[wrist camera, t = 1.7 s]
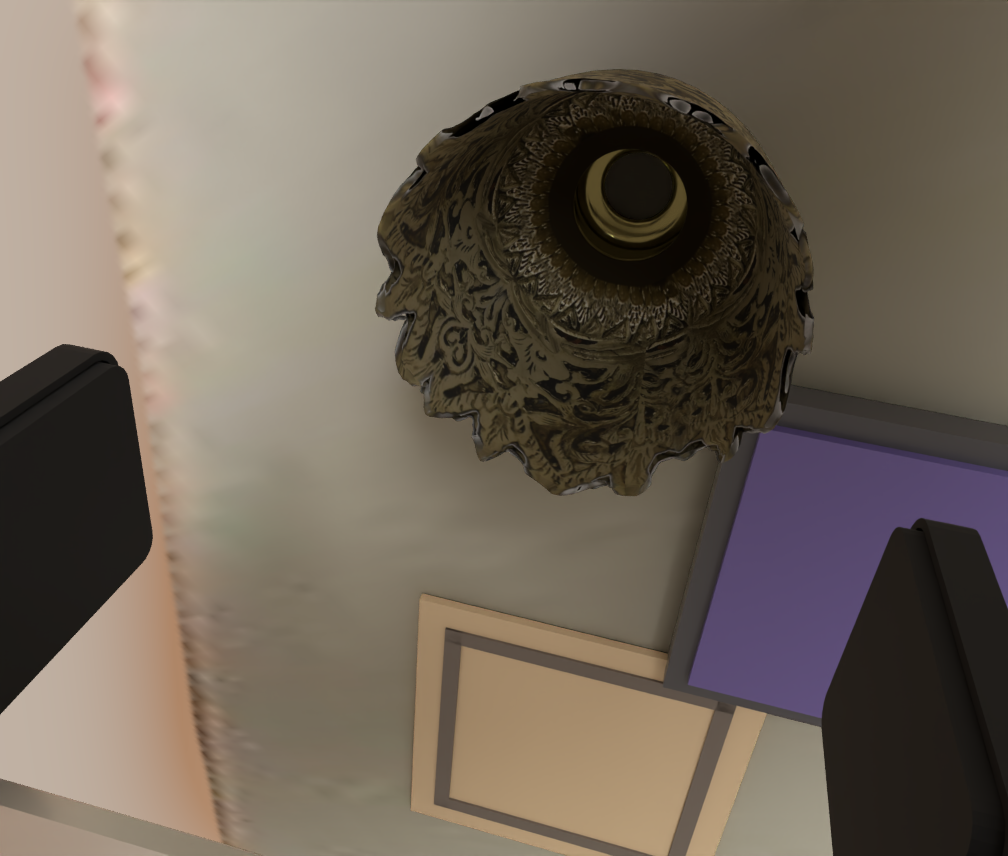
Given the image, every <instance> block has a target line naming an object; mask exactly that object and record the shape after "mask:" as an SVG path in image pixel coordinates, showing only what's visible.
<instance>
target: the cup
mask: <svg viewBox="0 0 1008 856" xmlns="http://www.w3.org/2000/svg"><path fill="white" fill-rule="evenodd" d="M636 152H641V153H647V154H651V155H653V156H655V157H657V158H658V159H660V160H661V161H662V162H663V163H664V164H665V165H666V167H667V168H668V170H669V172H670V175H671V178H672V194H671V197H670V200H669V202H668V204H667V205H666V207H665V208H664V209H663V210H662V211H661V212H660V213H658V214H657V215H655V216H653V217H651V218H648V219H644V220H633V219H628V218H626V217H623V216H622V215H620V214H618V213H617V212H616V211H615V210H614V209H613V208H612V207H611V205H610V204H609V202H608V200H607V197H606V194H605V179H606V175H607V173H608V171H609V169H610V167H611V166H612V165H613V164H614V163H615V162H616V161H617V160H618V159H619V158H621V157H623V156H625V155H627V154H630V153H636ZM416 160H417V164H418V167H417V168H416V169H415V170H414V171H413V173H412V174H411V175H410V176H409V177H408V178H407V179H406V181H405V182H404V183H403V184H402V185H401V186H400V187H399V188H398V190H397V191H396V193H395V194H394V196H393V197H392V199H391V201H390V202H389V204H388V206H387V208H386V210H385V212H384V214H383V216H382V219H381V221H380V224H379V226H378V232H377V238H378V242H379V246H380V248H381V251H382V253H383V255H384V256H385V257H386V259H387V261H388V264H389V268H390V270H391V274H390V276H389V278H388V279H387V281H385V283H383V284H382V286H381V289H380V292H379V293H378V295H377V302H376V307H375V311H376V313H377V315H378V317H384V318H386V319H387V320H394V321H396V320H398V319H401V320H405V319H406V321H405V322H404V324H403V327H402V329H401V331H400V335H399V338H398V342H397V345H396V349H395V358H396V365H397V369H398V372H399V374H400V375H401V377H402V379H403V380H406V381H407V382H408V383H409V384H411V385H412V386H416V385H419V386H421V391H420V392H421V393H423V394H424V410H425V414H426V415H428V416H430V417H437V418H453V419H455V420H456V421H460V420H464V419H467V418H468V417H471V418H472V419H473V424H472V425H473V433H472V438H473V440H474V443H475V447H476V452H477V455H478V457H479V459H480V461H488V460H490V459H493V458H495V457H497V456H499V455H501V454H502V453H504V452H510V453H511V454H512V455H513V456H515V457H516V458H517V459H518V460H520V462H521V463H522V464H523V466H524V471H525V473H526V474H527V475H529V476H530V477H531V478H533V479H534V480H536V481H537V482H538V483H540V484H541V485H542V486H544V487H545V488H546V489H547V490H548V491H549V492H550V493H552V494H555V495H570V494H574V493H578V492H580V491H583V490H586V489H589V488H591V489H596V488H598V487H602V486H606V485H608V486H609V487H610V488H612V490H613V491H614V493H615V494H617V495H622V496H637V495H639V494H641V493H642V492H644V491H645V490H646V489H647V488H648V487H649V486H650V485H651V478H652V475H653V473H654V471H655V470H656V468H657V467H658V465H659V463H661V462H663V461H666V460H670V459H672V458H675V459H679V460H682V461H685V460H688V459H689V458H690V457H692V456H693V455H694V454H695V453H696V452H697V451H699V450H702V449H703V448H704V447H707V448H708V449H709V450H711V451H715V452H716V453H717V454H716V455H717V460H718V461H719V462H720V463H724V462H726V461H728V460H730V459H731V458H732V457H733V456H734V455H735V454H736V452H737V451H738V449H739V447H740V445H741V441H742V438H743V433H747V432H749V433H763V434H766V433H768V432H770V431H771V430H773V429H774V427H775V426H776V424H777V423H778V422H779V420H780V419H781V417H782V415H783V413H784V411H785V408H786V406H787V401H788V397H789V394H790V388H791V380H792V373H793V368H794V364H795V361H796V358H797V355H798V352H799V353H802V354H803V355H806V353H809V354H810V353H811V350H812V342H813V328H814V317H813V315H812V313H811V310H810V306H809V300H808V295H807V291H810V290H813V274H814V269H813V262H812V257H811V253H810V250H809V247H808V241H807V236H806V232H805V231H804V230H803V229H802V227H803V226H804V224H803V221H802V218H801V216H800V214H799V212H798V210H797V208H796V206H795V205H794V203H793V201H792V199H791V198H790V196H789V195H788V193H787V191H786V190H785V188H784V187H783V185H782V183H781V181H780V179H779V177H778V175H777V173H776V172H775V170H774V168H773V166H772V165H771V163H770V161H769V160H768V158H767V157H766V155H765V153H764V152H763V150H762V148H761V147H760V145H759V144H758V142H757V141H756V140H755V139H754V137H753V136H752V135H751V134H750V132H749V131H748V130H747V128H746V127H745V126H744V125H743V124H742V123H741V122H740V121H739V120H738V119H737V118H736V117H735V116H734V115H733V114H732V113H731V112H730V111H729V110H728V109H727V108H725V107H724V106H723V105H721V104H720V103H719V102H718V101H716V100H715V99H714V98H712V97H710V96H709V95H707V94H705V93H704V92H702V91H700V90H699V89H697V88H695V87H693V86H691V85H688V84H686V83H684V82H681V81H679V80H677V79H674V78H670V77H667V76H664V75H660V74H657V73H651V72H645V71H639V70H624V69H613V70H598V71H590V72H585V73H579V74H574V75H569V76H565V77H561V78H557V79H554V80H550V81H544V82H536V83H531V84H526V85H524V86H521V87H520V90H518V91H516V92H514V93H512V94H509V95H507V96H505V97H503V98H500V99H498V100H495V101H493V102H491V103H489V104H487V105H486V106H485V107H484V108H482V109H481V110H480V111H478V112H476V113H475V114H473V115H472V116H471V117H469V118H468V119H467V120H465V121H464V122H462V123H460V124H458V125H456V126H454V127H452V128H446V129H443V130H442V131H441V132H439V133H438V134H437V135H436V136H435V137H434V138H433V139H432V140H431V141H430V142H429V143H428V144H427V145H426V146H425V147H424V148H423V149H422V150H421V152H420V153H419V155H418V156H417V158H416ZM402 314H406V316H400V315H402Z"/></svg>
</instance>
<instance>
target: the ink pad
mask: <svg viewBox="0 0 1008 856" xmlns="http://www.w3.org/2000/svg"><path fill="white" fill-rule="evenodd" d="M920 518H925V519H929V520H934V521H939V522H944V523H949V524H954V525H959V526H964V527H969V528H973V529H975V530H977V531H978V533H979V534H980V536H981V539H982V541H983V544H984V547H985V549H986V552H987V555H988V557H989V560H990V563H991V565H992V568H993V571H994V573H995V576H996V579H997V581H998V584H999V587H1000V589H1001V592H1002V595H1003V597H1004V600H1005V603H1006V605H1007V608H1008V426H1004V425H998V424H993V423H988V422H982V421H977V420H972V419H967V418H961V417H956V416H951V415H946V414H940V413H935V412H930V411H925V410H919V409H914V408H909V407H904V406H898V405H893V404H888V403H883V402H877V401H872V400H867V399H861V398H856V397H851V396H846V395H840V394H835V393H830V392H825V391H819V390H814V389H809V388H804V387H798V386H793V385H791V388H790V394H789V397H788V401H787V406H786V408H785V411H784V413H783V415H782V417H781V419H780V420H779V422H778V423H777V424H776V426H775V427H774V429H773V430H771V431H770V432H768V433H766V434H763V433H749V432H747V433H743V438H742V441H741V445H740V447H739V449H738V451H737V452H736V454H735V455H734V456H733V457H732V458H731V459H730V460H728V461H726V462H724V463H720V462H719V463H718V467H717V471H716V475H715V478H714V482H713V486H712V490H711V494H710V497H709V501H708V505H707V509H706V512H705V516H704V520H703V524H702V528H701V531H700V535H699V539H698V543H697V547H696V550H695V554H694V558H693V562H692V565H691V569H690V573H689V577H688V581H687V584H686V588H685V592H684V596H683V600H682V603H681V607H680V611H679V615H678V618H677V622H676V626H675V630H674V634H673V637H672V641H671V645H670V649H669V653H668V659H667V664H666V667H665V671H664V679H663V687H664V688H668V689H672V690H676V691H680V692H684V693H688V694H692V695H696V696H700V697H704V698H708V699H712V700H716V701H720V702H724V703H728V704H732V705H736V706H740V707H744V708H747V709H751V710H755V711H759V712H763V713H767V714H771V715H775V716H779V717H783V718H787V719H791V720H795V721H799V722H803V723H807V724H811V725H815V726H819V727H822V722H821V721H822V710H823V704H824V700H825V696H826V693H827V691H828V688H829V686H830V683H831V681H832V678H833V676H834V673H835V671H836V668H837V666H838V664H839V661H840V659H841V656H842V654H843V651H844V649H845V646H846V644H847V641H848V639H849V637H850V634H851V632H852V629H853V627H854V624H855V622H856V619H857V617H858V614H859V612H860V609H861V607H862V605H863V602H864V600H865V597H866V595H867V592H868V590H869V587H870V585H871V582H872V580H873V578H874V575H875V573H876V570H877V568H878V565H879V563H880V560H881V558H882V555H883V553H884V551H885V548H886V546H887V543H888V541H889V538H890V536H891V534H892V532H893V531H894V530H895V528H897V527H903V528H908V529H911V527H912V525H913V524H914V523H915V521H916V520H917V519H920Z"/></svg>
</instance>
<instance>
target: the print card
mask: <svg viewBox="0 0 1008 856" xmlns="http://www.w3.org/2000/svg"><path fill="white" fill-rule="evenodd" d="M667 659H668V654H667V653H663V652H659V651H655V650H651V649H646V648H642V647H638V646H634V645H630V644H626V643H622V642H618V641H614V640H610V639H606V638H602V637H598V636H594V635H590V634H585V633H581V632H577V631H573V630H569V629H565V628H561V627H557V626H553V625H549V624H545V623H541V622H537V621H533V620H528V619H524V618H520V617H516V616H512V615H508V614H504V613H500V612H496V611H492V610H488V609H484V608H480V607H476V606H471V605H467V604H463V603H459V602H455V601H451V600H447V599H443V598H439V597H435V596H431V595H427V594H423V593H422V595H421V597H420V600H419V624H418V648H417V672H416V696H415V720H414V744H413V768H412V792H411V811H415V812H418V813H422V814H425V815H429V816H432V817H436V818H439V819H443V820H446V821H449V822H453V823H456V824H460V825H463V826H467V827H470V828H474V829H477V830H480V831H484V832H487V833H491V834H494V835H498V836H501V837H505V838H508V839H512V840H515V841H518V842H522V843H525V844H529V845H532V846H536V847H539V848H543V849H546V850H550V851H553V852H556V853H560V854H563V855H567V856H714V855H715V852H716V849H717V847H718V844H719V841H720V839H721V836H722V833H723V830H724V828H725V825H726V822H727V820H728V817H729V814H730V812H731V809H732V806H733V804H734V801H735V798H736V795H737V793H738V790H739V787H740V785H741V782H742V779H743V777H744V774H745V771H746V769H747V766H748V763H749V760H750V758H751V755H752V752H753V750H754V747H755V744H756V742H757V739H758V736H759V734H760V731H761V728H762V725H763V723H764V720H765V717H766V715H767V713H763V712H759V711H755V710H751V709H747V708H744V707H740V706H736V705H732V704H728V703H724V702H720V701H716V700H712V699H708V698H704V697H700V696H696V695H692V694H688V693H684V692H680V691H676V690H672V689H668V688H664V687H663V679H664V671H665V667H666V664H667Z"/></svg>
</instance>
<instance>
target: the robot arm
mask: <svg viewBox="0 0 1008 856" xmlns="http://www.w3.org/2000/svg"><path fill="white" fill-rule="evenodd" d="M152 539H153V535H152V526H151V520H150V513H149V507H148V501H147V494H146V487H145V482H144V476H143V468H142V462H141V455H140V449H139V442H138V436H137V430H136V423H135V417H134V410H133V404H132V398H131V391H130V385H129V379H128V375H127V373H126V371H125V370H124V369H123V368H122V367H120V366H118V362H117V361H116V359H115V358H114V356H113V355H111V354H110V353H108V352H104V351H99V350H94V349H89V348H84V347H80V346H75V345H68V344H62V345H60V346H57V347H55V348H54V349H52V350H51V351H49V352H47V353H46V354H44V355H42V356H41V357H39V358H37V359H36V360H34V361H33V362H31V363H29V364H28V365H26V366H25V367H23V368H21V369H20V370H18V371H17V372H15V373H13V374H12V375H10V376H9V377H7V378H5V379H4V380H2V381H0V714H1V713H2V712H3V711H4V710H5V709H6V708H7V706H8V705H9V704H10V703H11V702H12V701H13V700H14V699H15V698H16V697H17V696H18V695H19V694H20V693H21V692H22V691H23V690H24V688H25V687H26V686H27V685H28V684H29V683H30V682H31V681H32V680H33V679H34V678H35V677H36V676H37V675H38V674H39V672H40V671H41V670H42V669H43V668H44V667H45V666H46V665H47V664H48V663H49V662H50V661H51V660H52V659H53V658H54V656H55V655H56V654H57V653H58V652H59V651H60V650H61V649H62V648H63V647H64V646H65V645H66V644H67V643H68V642H69V640H70V639H71V638H72V637H73V636H74V635H75V634H76V633H77V632H78V631H79V630H80V629H81V628H82V627H83V626H84V625H85V623H86V622H87V621H88V620H89V619H90V618H91V617H92V616H93V615H94V614H95V613H96V612H97V610H98V609H100V607H101V606H102V605H103V604H104V603H105V602H106V601H107V600H108V599H109V598H110V597H111V596H112V595H113V594H114V593H115V591H116V590H117V589H118V588H119V587H120V586H121V585H122V584H123V583H124V582H125V581H126V580H127V579H128V578H129V577H130V575H131V574H132V573H133V572H134V571H135V570H136V569H137V568H138V567H139V566H140V565H141V564H142V563H143V561H144V560H145V559H146V557H147V555H148V553H149V551H150V548H151V545H152ZM821 722H822V737H823V748H824V759H825V770H826V781H827V792H828V803H829V814H830V825H831V836H832V847H833V856H1008V608H1007V605H1006V603H1005V600H1004V597H1003V595H1002V592H1001V589H1000V587H999V584H998V581H997V579H996V576H995V573H994V571H993V568H992V565H991V563H990V560H989V557H988V555H987V552H986V549H985V547H984V544H983V541H982V539H981V536H980V534H979V533H978V531H977V530H975V529H973V528H969V527H964V526H959V525H954V524H949V523H944V522H939V521H934V520H929V519H925V518H920V519H917V520H916V521H915V523H914V524H913V525H912V527H911V529H908V528H903V527H897V528H895V530H894V531H893V532H892V534H891V536H890V538H889V541H888V543H887V546H886V548H885V551H884V553H883V555H882V558H881V560H880V563H879V565H878V568H877V570H876V573H875V575H874V578H873V580H872V582H871V585H870V587H869V590H868V592H867V595H866V597H865V600H864V602H863V605H862V607H861V609H860V612H859V614H858V617H857V619H856V622H855V624H854V627H853V629H852V632H851V634H850V637H849V639H848V641H847V644H846V646H845V649H844V651H843V654H842V656H841V659H840V661H839V664H838V666H837V668H836V671H835V673H834V676H833V678H832V681H831V683H830V686H829V688H828V691H827V693H826V696H825V700H824V704H823V710H822V721H821ZM0 856H263V855H260V854H256V853H253V852H249V851H246V850H243V849H239V848H236V847H233V846H229V845H226V844H222V843H219V842H216V841H212V840H209V839H205V838H202V837H199V836H195V835H192V834H188V833H185V832H182V831H178V830H175V829H171V828H168V827H164V826H161V825H158V824H154V823H151V822H148V821H144V820H141V819H137V818H134V817H130V816H127V815H124V814H120V813H116V812H114V811H110V810H106V809H103V808H100V807H96V806H93V805H89V804H86V803H83V802H79V801H76V800H73V799H69V798H66V797H62V796H58V795H55V794H52V793H48V792H45V791H42V790H38V789H34V788H31V787H28V786H24V785H21V784H17V783H14V782H10V781H7V780H3V779H0Z"/></svg>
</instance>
